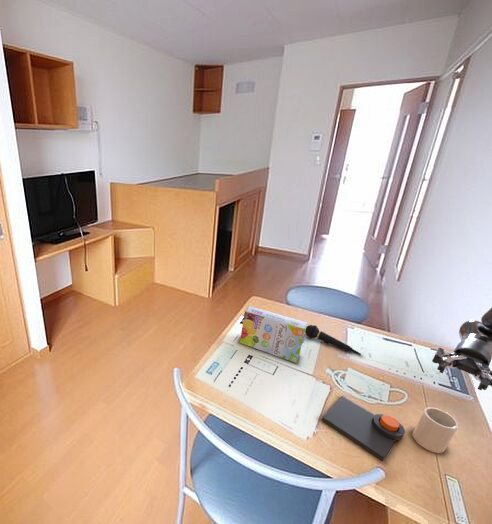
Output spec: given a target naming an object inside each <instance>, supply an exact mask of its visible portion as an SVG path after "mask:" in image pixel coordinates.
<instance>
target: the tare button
mask: <svg viewBox="0 0 492 524" xmlns="http://www.w3.org/2000/svg"><path fill="white" fill-rule="evenodd" d="M399 423H400V421H398V420H397V419H396V418H395V417H393V416H391V415H390V414H389V415H388V414H384V415H382V417H381V419H380V424H381V425H382V426H383V427H384V428H385V429H387V430H389V431H392V432H396V431H397V430H398V428H399V426H400V424H401V423H400V424H399Z"/></svg>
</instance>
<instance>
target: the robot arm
mask: <svg viewBox="0 0 492 524" xmlns="http://www.w3.org/2000/svg"><path fill="white" fill-rule="evenodd" d="M458 335H459V339H460V342H459V343H458V344H457V345H456V347H455V348H454V350H453V352H450V353H449V352H446V351H445V349H444V348H442V347H438V348H437V350H436V352H435V354H434V356H433V358H432V360H431V362H432V363H433V364H438V366H437V368H436V369H437V370H438V371H439V373H440V374H444V372H445V370H446V368H447V369H451V370H452V369H454V370H455V369H458V370H459V371H462V372H466V373H467V374H469V375H471V376H472V377H473V378H474V379H475V380H476V381H479V384H478V387H477V390H479V391H482V390H484V391H486V390H488V387H489V386H491V388H492V370H491V368H490V365H491V362H492V307H491V308H489V309H488V310H487V311H486V312H485V313H484V314H483V315H482V316H481V318H480V320H476V319H470V320H466V321H464V322H463V323H462V324H461V325H460V327H459V329H458Z"/></svg>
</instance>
